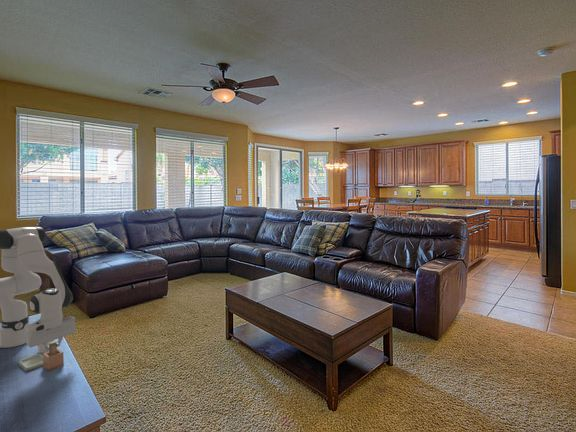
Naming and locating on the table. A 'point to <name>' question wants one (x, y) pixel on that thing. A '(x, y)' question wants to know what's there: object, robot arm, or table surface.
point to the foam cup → (43, 347)
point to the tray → (31, 362)
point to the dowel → (53, 348)
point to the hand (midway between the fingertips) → (52, 348)
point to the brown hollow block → (53, 360)
